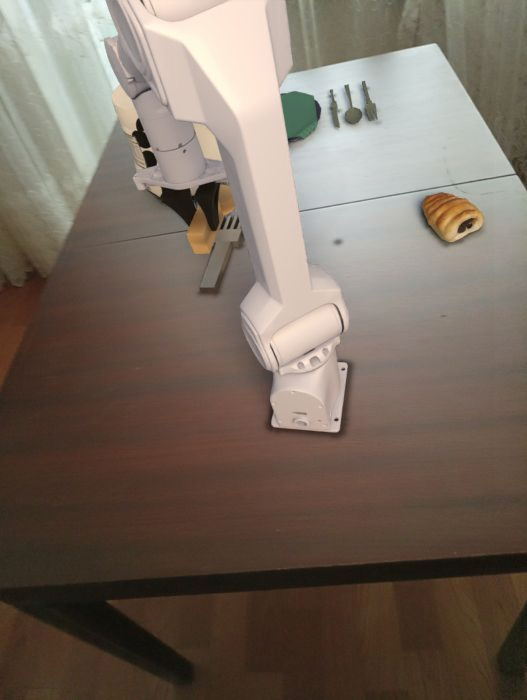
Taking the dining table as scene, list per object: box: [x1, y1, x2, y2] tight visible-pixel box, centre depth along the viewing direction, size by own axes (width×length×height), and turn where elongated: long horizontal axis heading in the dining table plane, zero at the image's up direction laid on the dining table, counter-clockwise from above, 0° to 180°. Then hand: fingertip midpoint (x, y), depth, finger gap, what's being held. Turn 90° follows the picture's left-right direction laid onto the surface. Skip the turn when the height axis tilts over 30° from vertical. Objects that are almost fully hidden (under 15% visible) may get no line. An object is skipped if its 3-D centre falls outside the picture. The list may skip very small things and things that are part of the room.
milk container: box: [111, 84, 222, 199], centre depth 87 cm, size 17×17×18 cm
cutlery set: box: [280, 80, 379, 144], centre depth 98 cm, size 20×30×2 cm, turn 90°
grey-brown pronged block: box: [199, 214, 244, 294], centre depth 79 cm, size 17×5×1 cm, turn 168°
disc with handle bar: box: [185, 184, 236, 255], centre depth 72 cm, size 13×5×4 cm, turn 168°
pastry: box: [421, 191, 485, 243], centre depth 72 cm, size 9×7×4 cm
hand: (206, 226), depth 71 cm, fingers closed on disc with handle bar, 2 cm apart
